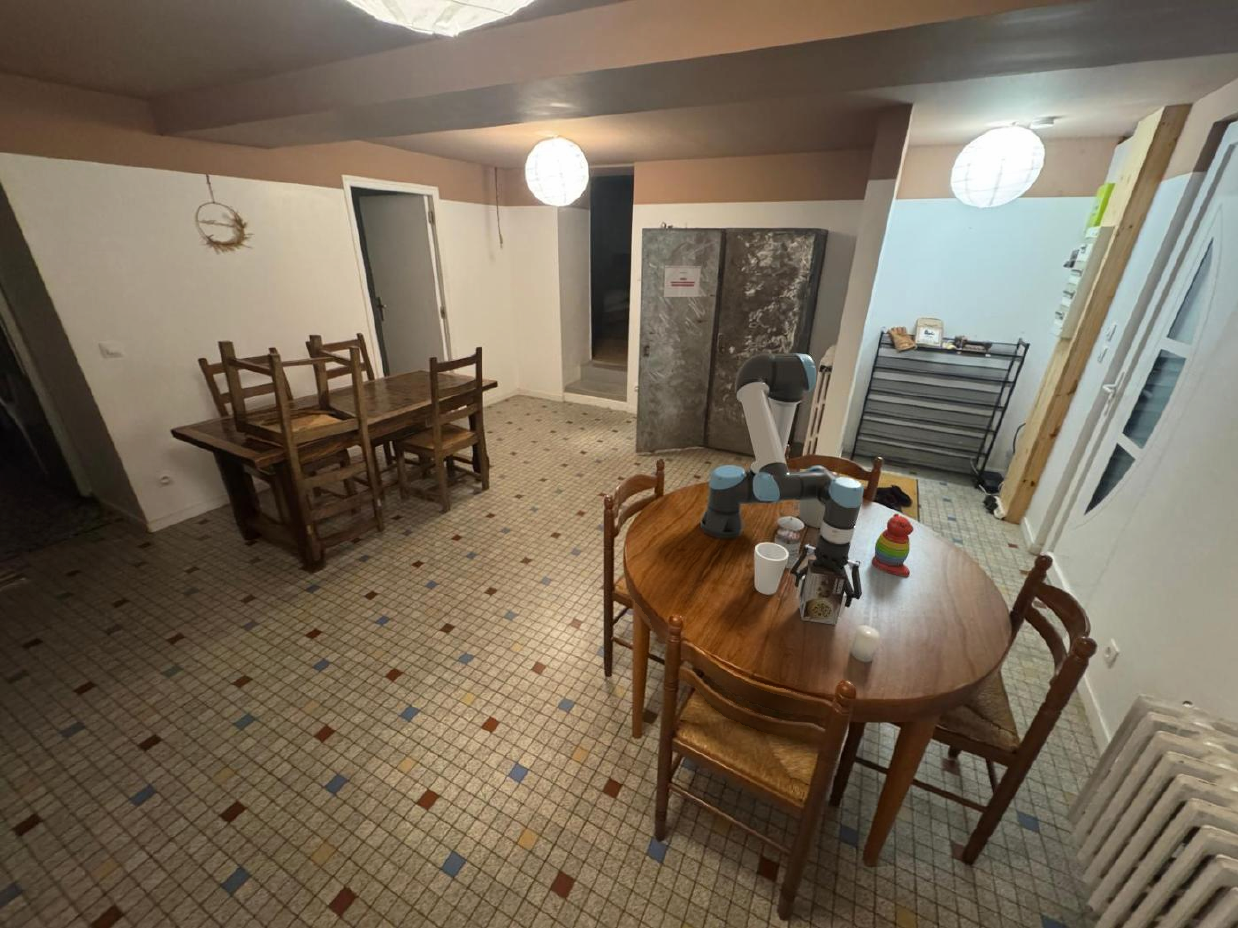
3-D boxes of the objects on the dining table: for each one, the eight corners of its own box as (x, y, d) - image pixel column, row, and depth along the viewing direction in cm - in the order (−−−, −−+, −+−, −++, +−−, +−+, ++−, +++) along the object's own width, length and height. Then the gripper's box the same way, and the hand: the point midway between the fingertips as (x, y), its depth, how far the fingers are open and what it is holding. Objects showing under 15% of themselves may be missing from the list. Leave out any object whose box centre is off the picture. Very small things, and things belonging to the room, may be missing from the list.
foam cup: (745, 578, 144) (750, 542, 139) (774, 577, 145) (780, 541, 140) (756, 598, 135) (762, 561, 130) (786, 597, 136) (794, 560, 131)
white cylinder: (848, 655, 116) (854, 633, 113) (853, 643, 120) (859, 622, 117) (870, 665, 113) (877, 643, 111) (875, 652, 117) (881, 631, 114)
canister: (809, 536, 166) (820, 483, 158) (781, 512, 183) (790, 463, 174) (852, 531, 170) (865, 478, 162) (822, 507, 186) (832, 459, 178)
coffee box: (832, 609, 131) (843, 562, 125) (836, 625, 125) (849, 576, 119) (798, 604, 133) (807, 557, 126) (801, 620, 127) (811, 572, 120)
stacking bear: (911, 577, 145) (927, 528, 138) (876, 573, 147) (890, 524, 140) (899, 557, 155) (913, 511, 148) (866, 554, 157) (879, 507, 150)
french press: (765, 562, 152) (777, 494, 142) (772, 545, 161) (783, 479, 151) (797, 571, 148) (811, 501, 138) (802, 552, 157) (816, 486, 147)
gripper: (785, 527, 122) (773, 594, 131) (882, 560, 110) (861, 632, 119) (795, 516, 128) (782, 581, 137) (888, 546, 115) (868, 616, 124)
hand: (819, 605), depth 128 cm, fingers closed on coffee box, 10 cm apart
